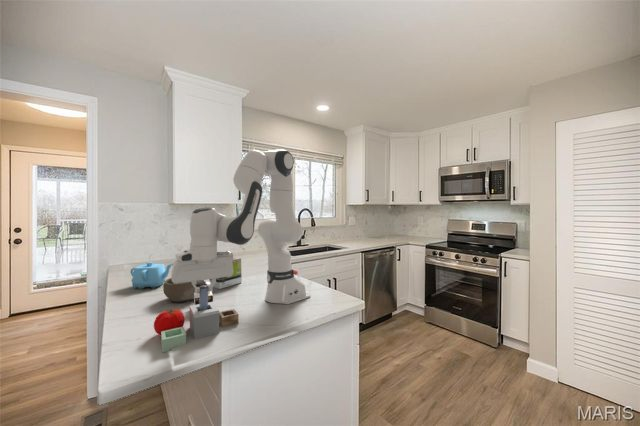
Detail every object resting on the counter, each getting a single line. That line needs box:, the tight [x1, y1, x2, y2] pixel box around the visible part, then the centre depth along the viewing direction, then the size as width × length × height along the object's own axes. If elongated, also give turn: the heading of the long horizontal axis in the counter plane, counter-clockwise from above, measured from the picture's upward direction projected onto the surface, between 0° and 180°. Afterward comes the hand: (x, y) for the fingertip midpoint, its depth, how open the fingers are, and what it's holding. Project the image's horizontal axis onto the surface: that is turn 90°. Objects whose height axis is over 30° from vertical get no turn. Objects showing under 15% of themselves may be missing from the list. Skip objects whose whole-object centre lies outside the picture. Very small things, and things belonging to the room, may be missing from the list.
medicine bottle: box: [193, 280, 214, 305], centre depth 117 cm, size 7×7×12 cm
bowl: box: [162, 277, 205, 303], centre depth 131 cm, size 17×18×10 cm
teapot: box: [129, 261, 174, 290], centre depth 151 cm, size 18×16×14 cm
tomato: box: [153, 308, 186, 337], centre depth 96 cm, size 9×10×8 cm
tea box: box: [208, 256, 242, 290], centre depth 155 cm, size 15×10×15 cm
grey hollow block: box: [189, 301, 220, 340], centre depth 96 cm, size 8×10×9 cm
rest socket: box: [160, 326, 187, 353], centre depth 88 cm, size 7×7×4 cm
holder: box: [219, 308, 240, 328], centre depth 103 cm, size 6×6×4 cm
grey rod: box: [199, 285, 208, 311], centre depth 96 cm, size 3×3×10 cm
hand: (203, 291), depth 96 cm, fingers closed on grey rod, 3 cm apart
